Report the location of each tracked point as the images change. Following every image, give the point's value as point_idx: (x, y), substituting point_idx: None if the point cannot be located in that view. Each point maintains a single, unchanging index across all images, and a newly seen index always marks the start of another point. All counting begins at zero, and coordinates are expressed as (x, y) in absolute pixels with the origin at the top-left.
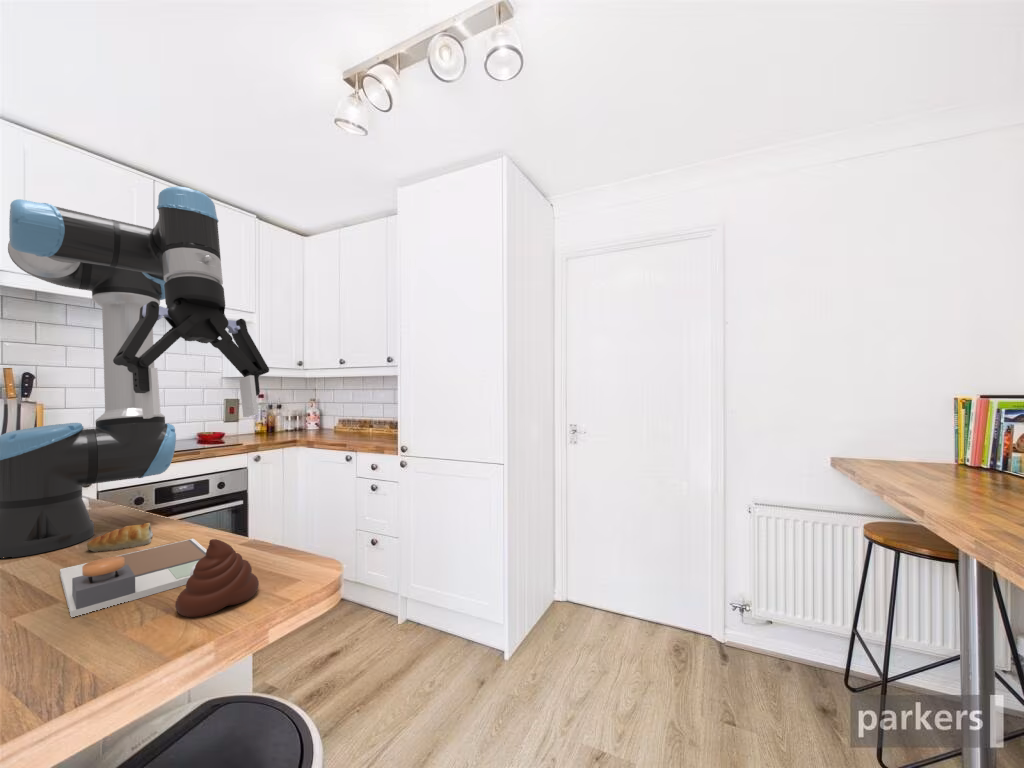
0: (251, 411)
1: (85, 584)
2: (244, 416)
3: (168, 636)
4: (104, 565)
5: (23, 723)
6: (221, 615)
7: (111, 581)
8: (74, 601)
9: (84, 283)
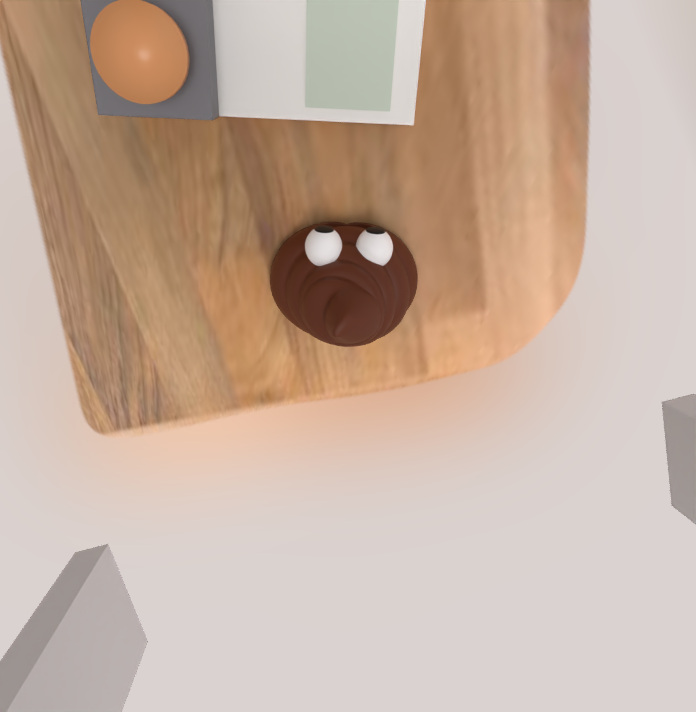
0: (683, 497)
1: None
2: (664, 414)
3: (247, 339)
4: (140, 86)
5: (94, 415)
6: None
7: (165, 112)
8: None
9: None
